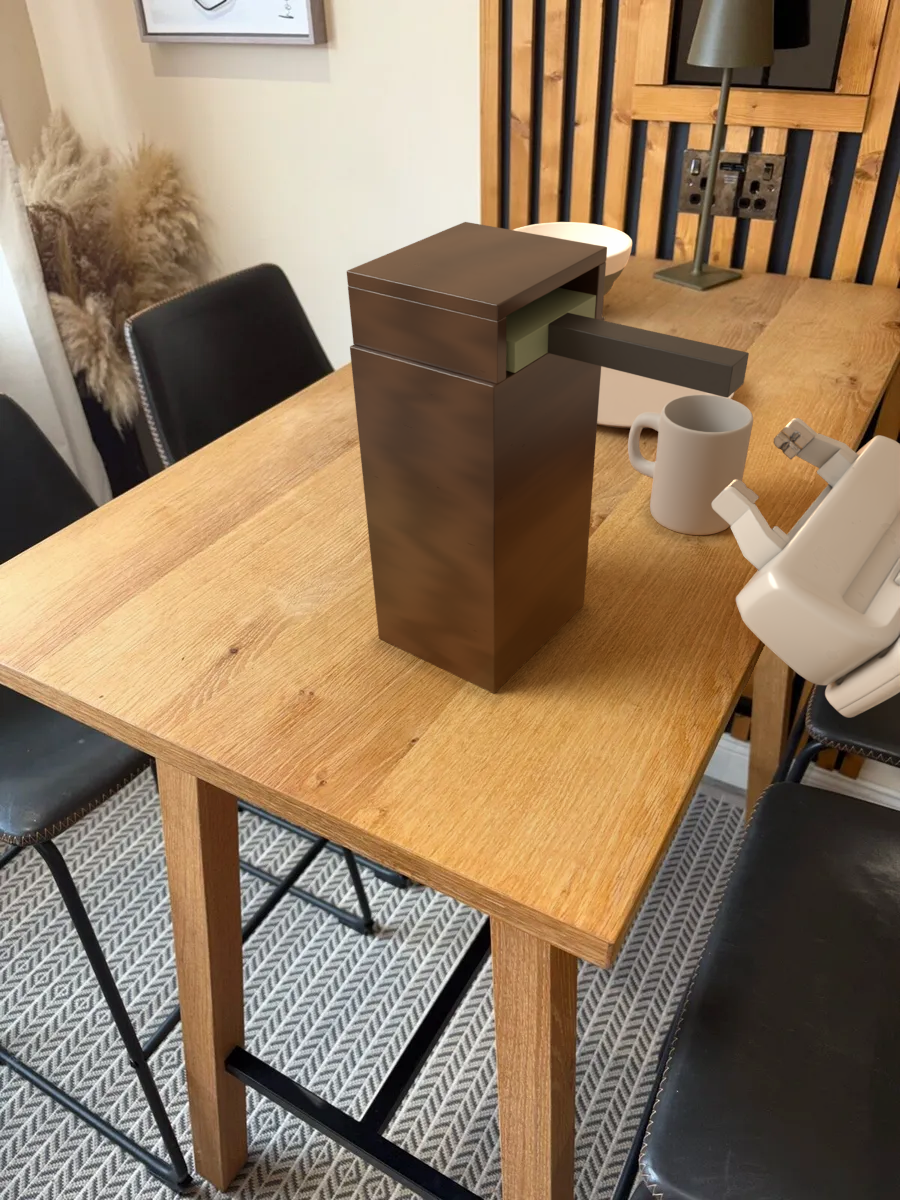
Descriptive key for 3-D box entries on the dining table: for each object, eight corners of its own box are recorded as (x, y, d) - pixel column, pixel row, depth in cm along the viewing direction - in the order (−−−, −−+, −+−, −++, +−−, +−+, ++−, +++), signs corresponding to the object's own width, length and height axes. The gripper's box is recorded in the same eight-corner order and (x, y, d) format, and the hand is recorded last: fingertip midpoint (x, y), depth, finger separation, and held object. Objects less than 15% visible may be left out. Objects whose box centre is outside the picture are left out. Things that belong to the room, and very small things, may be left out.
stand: (584, 605, 82) (610, 244, 63) (494, 694, 73) (493, 306, 54) (474, 561, 88) (468, 219, 69) (378, 638, 79) (341, 272, 60)
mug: (750, 507, 94) (769, 407, 87) (713, 545, 88) (730, 442, 82) (644, 473, 100) (654, 378, 93) (603, 507, 94) (611, 409, 88)
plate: (737, 448, 104) (740, 432, 102) (511, 433, 108) (512, 417, 107) (729, 357, 123) (732, 343, 122) (539, 348, 128) (539, 334, 127)
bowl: (485, 289, 148) (485, 227, 142) (603, 278, 150) (607, 217, 144) (514, 334, 132) (515, 267, 126) (645, 321, 135) (651, 254, 129)
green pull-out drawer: (768, 362, 58) (773, 331, 57) (700, 422, 52) (704, 389, 51) (488, 299, 69) (488, 272, 68) (404, 343, 63) (402, 314, 61)
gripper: (1011, 506, 59) (846, 363, 61) (920, 685, 46) (715, 497, 48) (934, 560, 64) (784, 426, 66) (833, 735, 51) (650, 563, 53)
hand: (754, 457), depth 57 cm, fingers open, 8 cm apart
